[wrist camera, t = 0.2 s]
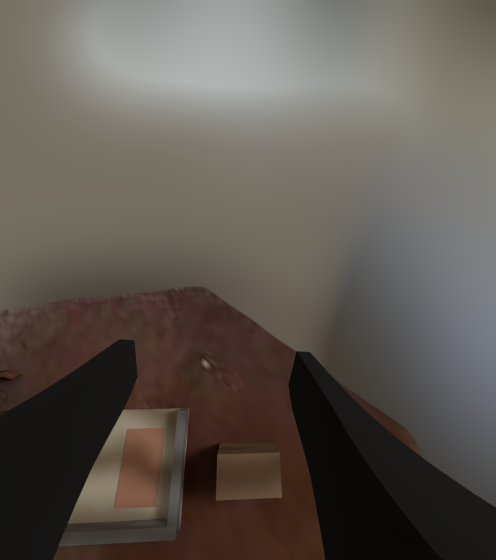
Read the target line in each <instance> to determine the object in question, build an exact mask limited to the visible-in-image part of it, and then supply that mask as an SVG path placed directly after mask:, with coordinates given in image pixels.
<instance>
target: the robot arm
mask: <svg viewBox="0 0 496 560" xmlns="http://www.w3.org/2000/svg"><path fill="white" fill-rule="evenodd" d="M137 377H138V376H137V365H136V354H135V342H134V340H121V339H120V340H118V341H117V342H115V343H114V344H112V345H111V346H109V347H108V348H106V349H105V350H104V351H102V352H101V353H99V354H98V355H96V356H95V357H94V358H92V359H91V360H89V361H88V362H86V363H85V364H83V365H82V366H80V367H79V368H78V369H76V370H75V371H73V372H72V373H70V374H69V375H67V376H65V377H64V378H62V379H61V380H59V381H58V382H56V383H54V384H53V385H51V386H50V387H48V388H47V389H45V390H43V391H42V392H40V393H39V394H37V395H35V396H34V397H32V398H30V399H28V400H27V401H25V402H23V403H22V404H20V405H18V406H16V407H14V408H13V409H11V410H9V411H7V412H5V413H4V414H2V415H0V560H53V558H54V556H55V553H56V551H57V548H58V546H59V543H60V541H61V538H62V536H63V534H64V531H65V529H66V527H67V524H68V522H69V519H70V517H71V515H72V512H73V510H74V508H75V505H76V503H77V501H78V498H79V496H80V494H81V492H82V489H83V487H84V485H85V482H86V480H87V478H88V476H89V473H90V471H91V469H92V467H93V465H94V463H95V461H96V459H97V457H98V456H99V454H100V452H101V450H102V448H103V446H104V444H105V443H106V441H107V439H108V437H109V435H110V433H111V431H112V430H113V428H114V426H115V424H116V422H117V420H118V419H119V417H120V415H121V413H122V411H123V409H124V407H125V405H126V403H127V401H128V399H129V397H130V395H131V392H132V390H133V387H134V384H135V382H136V379H137ZM289 391H290V398H291V404H292V409H293V413H294V417H295V420H296V424H297V428H298V431H299V435H300V439H301V442H302V446H303V449H304V453H305V457H306V460H307V464H308V468H309V472H310V476H311V481H312V486H313V492H314V497H315V502H316V507H317V513H318V519H319V524H320V530H321V536H322V542H323V548H324V554H325V560H496V507H494V506H492V505H491V504H489V503H488V502H486V501H485V500H483V499H481V498H480V497H478V496H477V495H475V494H473V493H472V492H470V491H469V490H467V489H466V488H465V487H463V486H462V485H460V484H459V483H457V482H456V481H454V480H453V479H451V478H450V477H449V476H447V475H446V474H444V473H443V472H441V471H440V470H438V469H437V468H436V467H434V466H433V465H432V464H430V463H429V462H427V461H426V460H425V459H423V458H422V457H421V456H420V455H418V454H417V453H416V452H414V451H413V450H412V449H410V448H409V447H408V446H406V445H405V444H404V443H403V442H401V441H400V440H399V439H398V438H396V437H395V436H394V435H393V434H391V433H390V432H389V431H388V430H387V429H386V428H385V427H383V426H382V425H381V424H380V423H379V422H378V421H376V420H375V419H374V418H373V417H372V416H371V415H370V414H369V413H367V412H366V411H365V410H364V409H363V408H362V407H361V406H360V405H359V404H358V403H357V402H356V401H355V400H354V399H353V398H352V397H351V396H350V395H349V394H348V393H347V392H346V391H345V390H344V389H343V388H342V387H341V386H340V385H339V384H338V383H337V382H336V381H335V379H334V378H333V377H332V376H331V375H330V374H329V373H328V372H327V371H326V370H325V368H324V367H323V366H322V365H321V364H320V363H319V362H318V361H317V360H316V359H315V357H314V356H313V355H312V354H311V353H310V352H299V351H297V353H296V357H295V361H294V365H293V369H292V373H291V377H290V381H289Z"/></svg>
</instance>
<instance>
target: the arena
mask: <svg viewBox="0 0 496 560" xmlns="http://www.w3.org/2000/svg"><path fill="white" fill-rule="evenodd" d="M188 419H189V408H170V409H126V410H123V411H122V413H121V415H120V417H119V419H118V420H117V422H116V424H115V426H114V428H113V430H112V431H111V433H110V435H109V437H108V439H107V441H106V443H105V444H104V446H103V448H102V450H101V452H100V454H99V456H98V457H97V459H96V461H95V463H94V465H93V467H92V469H91V471H90V473H89V476H88V478H87V480H86V482H85V485H84V487H83V489H82V492H81V494H80V496H79V498H78V501H77V503H76V505H75V508H74V510H73V512H72V515H71V517H70V519H69V522H68V524H67V527H66V529H65V531H64V534H63V536H62V538H61V541H60V543H59V546H76V545H95V544H113V543H131V542H149V541H168V540H176V537H177V534H178V532H179V529H180V521H181V508H182V495H183V482H184V470H185V457H186V444H187V431H188Z"/></svg>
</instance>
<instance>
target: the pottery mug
mask: <svg viewBox="0 0 496 560" xmlns="http://www.w3.org/2000/svg"><path fill="white" fill-rule="evenodd" d="M21 375H22V373H21V372H19V371H14V370H4V371H0V377H4V378H8V379H15V378H16V377H18V376H21ZM6 397H7V392H6V391H5V390H1V391H0V409H1V408H2V407H3V405H4V402H5V398H6ZM5 412H7V411H0V415H2V414H4V413H5Z"/></svg>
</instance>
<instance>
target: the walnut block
mask: <svg viewBox="0 0 496 560" xmlns="http://www.w3.org/2000/svg"><path fill="white" fill-rule="evenodd" d="M260 498H282V490H281V473H280V455H279V451H278V450H277V448H276V446H275V445H274V443H273V442H272V441H270V442H238V443H220V445H219V450H218V454H217V481H216V500H238V499H260Z"/></svg>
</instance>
